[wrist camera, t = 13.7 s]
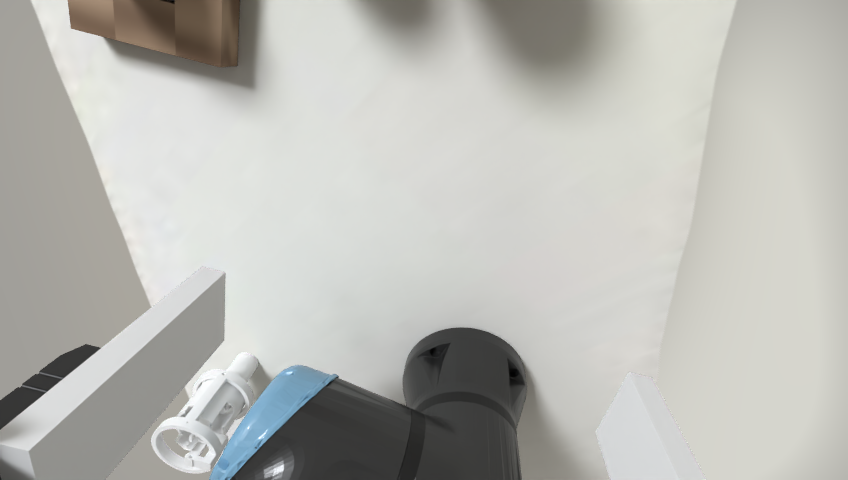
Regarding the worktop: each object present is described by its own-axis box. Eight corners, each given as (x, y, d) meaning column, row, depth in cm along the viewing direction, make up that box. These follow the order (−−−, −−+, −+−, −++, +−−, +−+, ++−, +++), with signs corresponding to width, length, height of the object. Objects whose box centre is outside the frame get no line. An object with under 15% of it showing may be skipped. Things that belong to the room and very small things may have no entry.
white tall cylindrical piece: (270, 387, 59) (209, 490, 45) (221, 374, 59) (144, 473, 45) (275, 348, 56) (210, 445, 42) (222, 334, 56) (141, 427, 42)
